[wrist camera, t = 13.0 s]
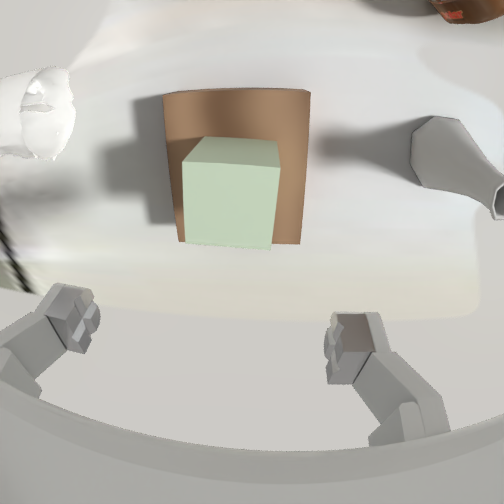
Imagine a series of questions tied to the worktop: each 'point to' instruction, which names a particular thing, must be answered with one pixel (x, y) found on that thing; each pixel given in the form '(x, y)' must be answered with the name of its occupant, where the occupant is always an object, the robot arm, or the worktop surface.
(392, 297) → the worktop surface
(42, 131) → the white plastic bottle
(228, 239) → the sage block
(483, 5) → the tin
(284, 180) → the brown block
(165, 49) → the worktop surface
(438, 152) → the flask
